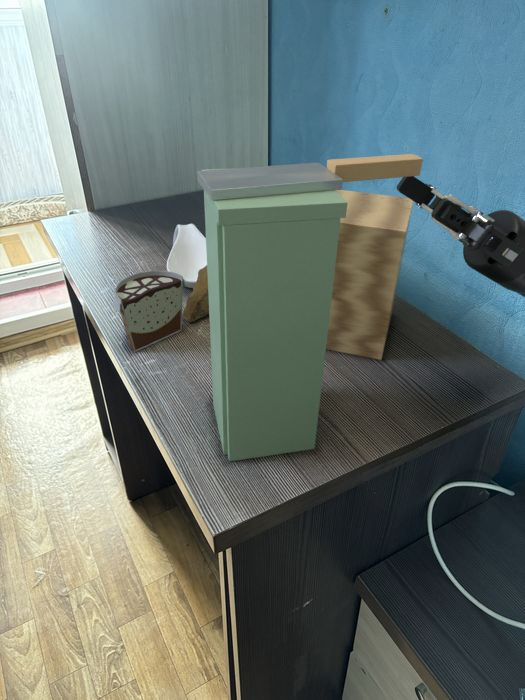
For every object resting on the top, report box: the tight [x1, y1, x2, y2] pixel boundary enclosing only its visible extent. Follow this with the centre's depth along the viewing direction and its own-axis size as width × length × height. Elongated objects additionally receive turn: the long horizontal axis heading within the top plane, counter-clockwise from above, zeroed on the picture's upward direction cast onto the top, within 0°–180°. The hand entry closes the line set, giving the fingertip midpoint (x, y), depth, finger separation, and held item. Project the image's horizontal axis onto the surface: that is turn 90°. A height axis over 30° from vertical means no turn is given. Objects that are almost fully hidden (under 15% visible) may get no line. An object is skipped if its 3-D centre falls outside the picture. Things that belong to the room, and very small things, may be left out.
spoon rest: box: [166, 223, 207, 289], centre depth 104 cm, size 24×12×7 cm, turn 17°
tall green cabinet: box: [201, 167, 347, 462], centre depth 60 cm, size 12×12×32 cm
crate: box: [326, 189, 414, 361], centre depth 83 cm, size 16×14×22 cm
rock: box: [182, 265, 209, 323], centre depth 92 cm, size 11×9×10 cm
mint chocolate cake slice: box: [113, 270, 186, 353], centre depth 84 cm, size 12×6×10 cm, turn 134°
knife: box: [196, 153, 424, 201], centre depth 52 cm, size 23×6×2 cm, turn 108°
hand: (419, 193), depth 55 cm, fingers open, 8 cm apart
